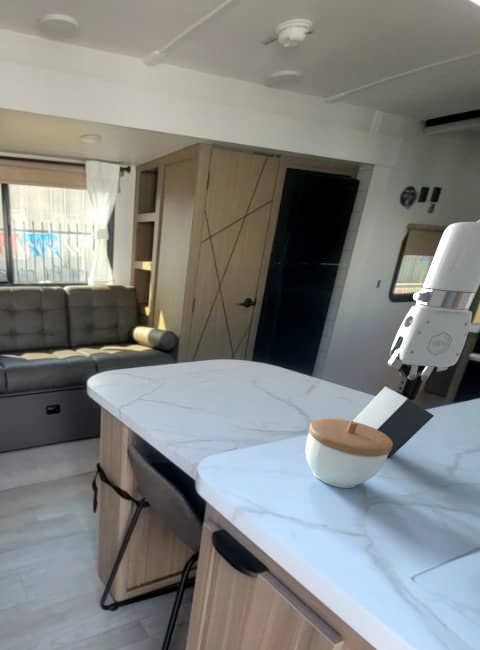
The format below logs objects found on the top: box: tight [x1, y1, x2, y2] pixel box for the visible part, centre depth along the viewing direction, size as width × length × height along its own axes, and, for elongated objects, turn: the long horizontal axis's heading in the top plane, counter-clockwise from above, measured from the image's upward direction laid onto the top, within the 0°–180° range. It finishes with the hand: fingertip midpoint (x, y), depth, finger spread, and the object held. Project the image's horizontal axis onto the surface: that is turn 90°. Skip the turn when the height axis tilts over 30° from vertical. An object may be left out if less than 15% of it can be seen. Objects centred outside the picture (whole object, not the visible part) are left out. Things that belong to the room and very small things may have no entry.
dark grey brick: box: [352, 386, 435, 459], centre depth 82 cm, size 11×7×7 cm
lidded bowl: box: [304, 417, 393, 489], centre depth 72 cm, size 13×13×11 cm
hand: (404, 397), depth 80 cm, fingers closed
